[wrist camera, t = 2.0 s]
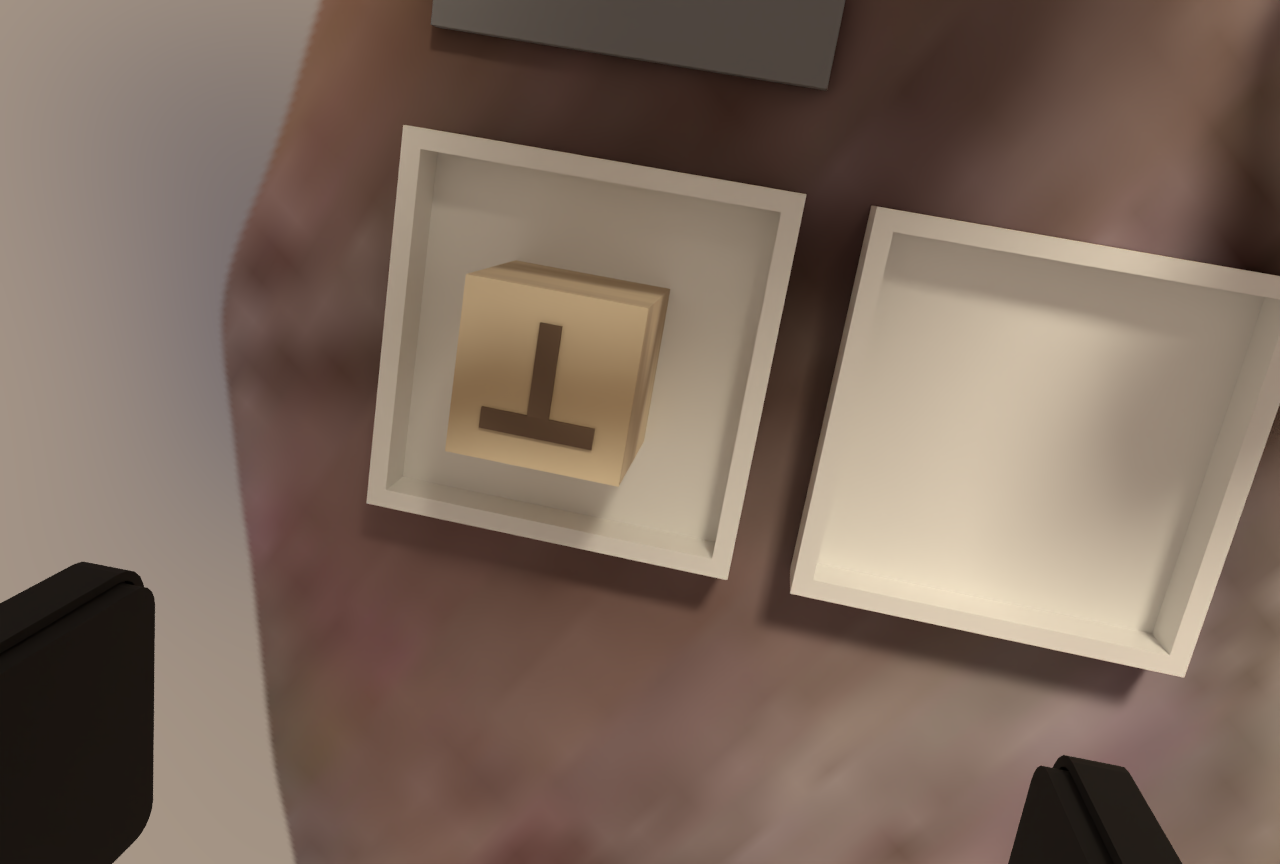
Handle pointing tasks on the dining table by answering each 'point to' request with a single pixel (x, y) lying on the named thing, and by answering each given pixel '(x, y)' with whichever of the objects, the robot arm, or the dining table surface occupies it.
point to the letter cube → (555, 369)
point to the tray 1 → (605, 246)
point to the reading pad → (671, 32)
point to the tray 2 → (1039, 438)
